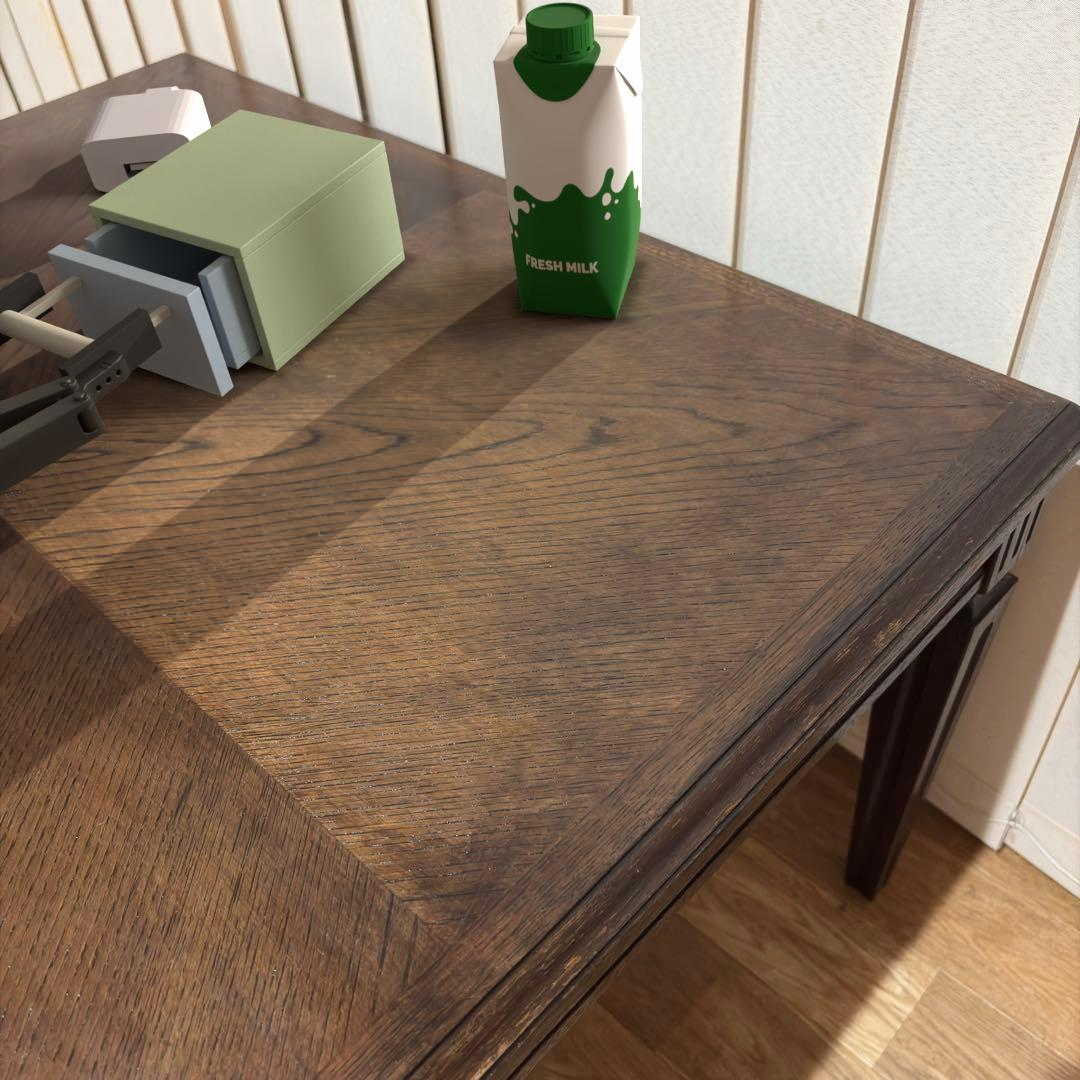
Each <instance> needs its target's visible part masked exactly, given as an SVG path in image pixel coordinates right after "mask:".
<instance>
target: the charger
mask: <svg viewBox="0 0 1080 1080" xmlns="http://www.w3.org/2000/svg"><path fill="white" fill-rule="evenodd" d="M211 127H212V125H211V122H210V119H209V115H208V113H207V109H206V105H205V102H204V99H203V96H202V95H201V93H199V92H198V91H196V90H193V89H185V88H183V89H182V88H179V87H178V86H177V85H174V86H165V87H164V86H163V87H155V88H146V89H145V90H143V91H142V92H140V93H133V94H124V95H115V96H111V97H108V98H107V97H106V98H105V99H104V100H102V101H101V103H100V104H99V107H98V109H97V110H96V113H95V115H94V117H93V120H92V122H91V124H90V127H89V128H88V131H87V134H86V136H85V138H84V141H83V143H82V145H81V147H80V154H81V156H82V159H83V161H84V164H85V167H86V169H87V171H88V174H89V177H90V179H91V181H92V184H93V186H94V188H95V189H96V190H98V191H100V192H104V193H108V192H110V191H111V190H113V189H115V188H116V187H118V186H119V185H121V184H123V183H124V182H126V181H127V180H129V179H130V178H132V177H134V176H135V175H137V174H138V173H140V172H141V171H143V170H145V169H146V168H148V167H149V166H151V165H153V164H154V163H156V162H157V161H159V160H160V159H162V158H164V157H165V156H167V155H168V154H170V153H172V152H173V151H175V150H176V149H178V148H179V147H181V146H183V145H184V144H186V143H187V142H189V141H191V140H192V139H194V138H195V137H197V136H198V135H200V134H202V133H203V132H205V131H206V130H208V129H210V128H211Z"/></svg>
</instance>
